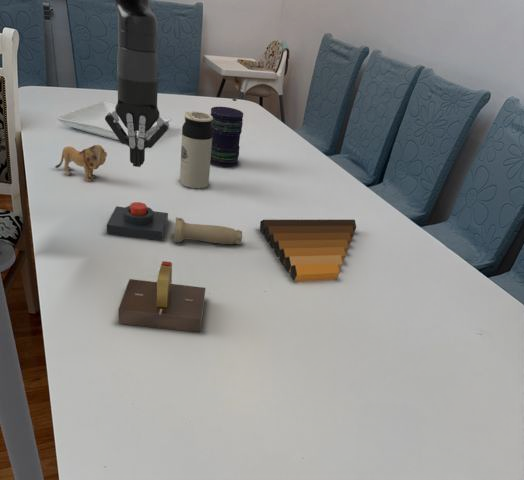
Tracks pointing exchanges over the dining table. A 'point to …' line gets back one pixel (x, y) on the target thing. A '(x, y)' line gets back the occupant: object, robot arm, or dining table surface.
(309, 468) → the dining table surface
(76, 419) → the dining table surface
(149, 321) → the panel
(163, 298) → the lock knob
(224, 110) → the storage jar
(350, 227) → the pan flute
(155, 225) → the button housing
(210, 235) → the handle
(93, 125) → the square plate
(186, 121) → the travel mug
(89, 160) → the lion figurine
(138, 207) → the button
